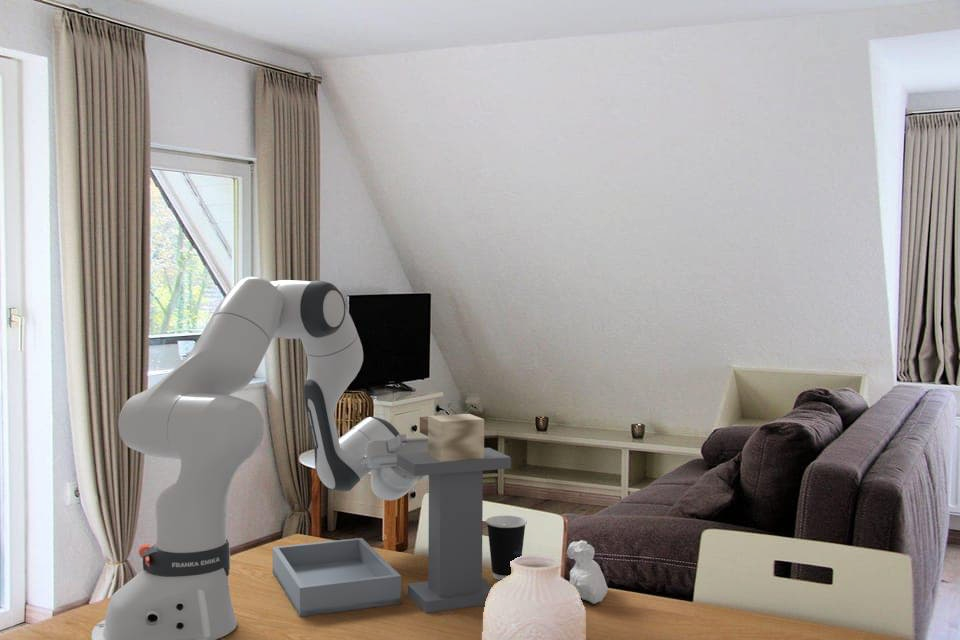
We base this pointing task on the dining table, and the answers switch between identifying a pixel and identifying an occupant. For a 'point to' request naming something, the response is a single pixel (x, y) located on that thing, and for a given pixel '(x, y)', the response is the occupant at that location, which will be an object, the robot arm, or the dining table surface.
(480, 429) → the mallet
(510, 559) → the dixie cup
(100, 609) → the dining table surface
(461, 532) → the stand
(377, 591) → the tray
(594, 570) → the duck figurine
